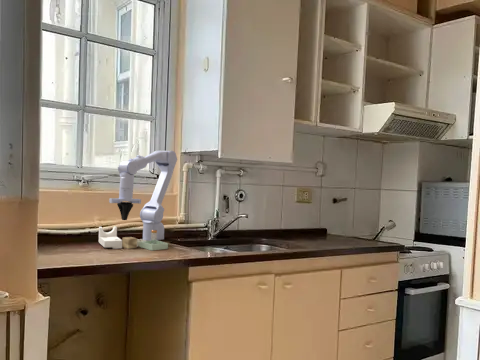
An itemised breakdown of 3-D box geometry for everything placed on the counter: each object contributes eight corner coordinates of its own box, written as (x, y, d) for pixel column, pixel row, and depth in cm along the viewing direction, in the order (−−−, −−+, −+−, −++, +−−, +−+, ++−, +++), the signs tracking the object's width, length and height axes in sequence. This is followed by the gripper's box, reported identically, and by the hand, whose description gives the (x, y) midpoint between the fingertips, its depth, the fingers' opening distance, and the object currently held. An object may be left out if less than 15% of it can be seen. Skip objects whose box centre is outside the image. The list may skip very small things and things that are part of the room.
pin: (154, 245, 196) (154, 229, 195) (157, 246, 194) (158, 230, 194) (149, 246, 194) (150, 230, 194) (153, 247, 192) (153, 230, 192)
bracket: (98, 244, 198) (99, 226, 198) (115, 243, 202) (115, 226, 201) (104, 249, 187) (104, 231, 187) (121, 249, 190) (122, 230, 190)
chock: (130, 246, 196) (131, 236, 196) (136, 248, 193) (137, 238, 192) (122, 247, 193) (122, 237, 193) (128, 249, 190) (128, 239, 190)
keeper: (141, 243, 202) (141, 239, 202) (147, 245, 199) (147, 240, 199) (131, 244, 199) (131, 240, 199) (137, 246, 196) (137, 241, 196)
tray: (155, 245, 200) (155, 240, 200) (167, 248, 194) (168, 243, 194) (139, 247, 194) (139, 241, 194) (151, 250, 188) (152, 244, 188)
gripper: (135, 188, 208) (133, 218, 208) (106, 187, 197) (104, 219, 197) (144, 189, 203) (142, 220, 203) (115, 188, 192) (112, 220, 192)
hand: (124, 219), depth 200 cm, fingers closed
